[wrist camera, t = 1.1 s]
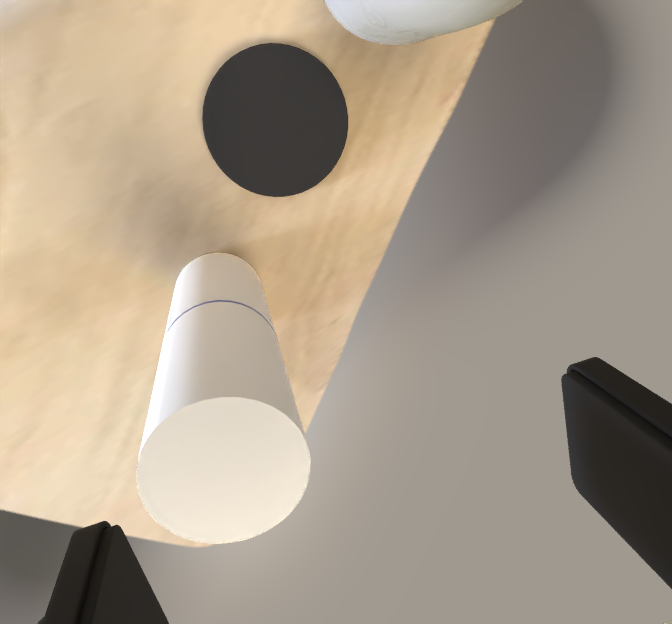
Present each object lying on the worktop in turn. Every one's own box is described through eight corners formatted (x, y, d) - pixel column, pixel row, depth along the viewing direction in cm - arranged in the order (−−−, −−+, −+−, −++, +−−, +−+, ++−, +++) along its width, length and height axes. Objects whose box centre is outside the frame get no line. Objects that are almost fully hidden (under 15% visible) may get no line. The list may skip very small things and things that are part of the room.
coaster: (172, 130, 42) (171, 130, 41) (266, 9, 40) (266, 7, 40) (285, 224, 46) (286, 225, 45) (374, 116, 44) (376, 116, 44)
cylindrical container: (280, 291, 48) (344, 460, 24) (223, 351, 48) (232, 569, 25) (215, 234, 45) (218, 362, 22) (155, 298, 46) (97, 488, 22)
